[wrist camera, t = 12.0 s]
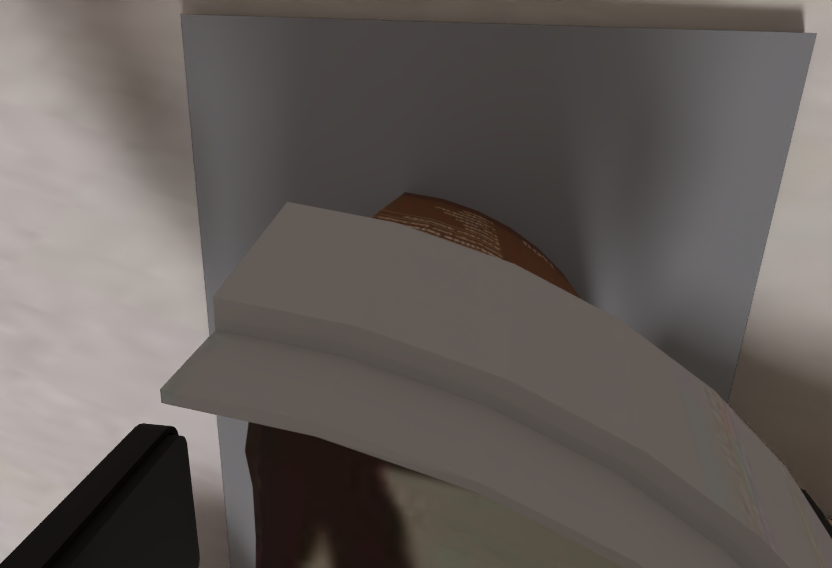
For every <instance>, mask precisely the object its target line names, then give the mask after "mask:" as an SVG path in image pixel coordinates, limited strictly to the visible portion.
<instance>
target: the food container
mask: <svg viewBox="0 0 832 568" xmlns="http://www.w3.org/2000/svg"><path fill="white" fill-rule="evenodd" d="M213 305H214V320H215V331H214V332H213V333H212V334H211V335H210V336H209V337H208V338H207V340H206V341H205V342H204V343H203V344H202V345H201V346H200V347H199V348H198V349H197V350H196V351H195V352H194V354H193V355H192V356H191V357H190V358H189V359H188V360H187V361H186V362H185V363H184V364H183V365H182V366H181V368H180V369H179V370H178V371H177V372H176V373H175V374H174V375H173V376H172V377H171V378H170V379H169V380H168V382H167V383H166V384H165V385H164V386H163V387H162V388H161V389H160V392H161V402H162V403H165V404H169V405H174V406H178V407H183V408H188V409H192V410H197V411H201V412H206V413H211V414H215V415H220V416H224V417H229V418H233V419H238V420H243V421H247V422H249V423H248V430H247V438H246V445H245V454H246V459H247V463H248V468H249V473H250V477H251V482H252V487H253V502H254V518H255V535H256V568H832V539H831V537H830V535H829V534H828V532H827V531H826V529H825V528H824V526H823V524H822V523H821V521H820V520H819V518H818V516H817V515H816V513H815V512H814V510H813V509H812V507H811V505H810V504H809V502H808V501H807V499H806V497H805V496H804V494H803V493H802V491H801V490H800V488H799V486H798V485H797V483H796V482H795V480H794V478H793V477H792V475H791V474H790V472H789V471H788V469H787V467H786V466H785V465H784V464H783V463H782V462H781V461H780V460H779V459H778V458H777V457H776V456H775V455H774V454H773V453H772V451H771V450H770V449H769V448H768V447H767V446H766V445H765V444H764V443H763V442H762V441H761V440H760V439H759V438H758V437H757V435H756V434H755V433H754V432H753V431H752V430H751V429H750V428H749V427H748V426H747V425H746V424H745V423H744V422H743V421H742V419H741V418H740V417H739V416H738V415H737V414H736V413H735V412H734V411H733V410H732V409H731V408H730V407H729V406H728V405H727V403H726V402H725V401H724V400H723V399H722V398H721V397H720V396H719V395H718V394H717V393H716V392H715V391H714V390H713V389H712V388H710V387H709V386H708V385H706V384H705V383H704V382H702V381H701V380H700V379H698V378H697V377H696V376H694V375H693V374H692V373H690V372H689V371H688V370H687V369H685V368H684V367H683V366H681V365H680V364H679V363H677V362H676V361H675V360H673V359H672V358H671V357H669V356H668V355H667V354H665V353H664V352H663V351H661V350H660V349H659V348H657V347H656V346H655V345H653V344H652V343H651V342H649V341H648V340H647V339H645V338H644V337H643V336H641V335H640V334H639V333H637V332H636V331H635V330H633V329H632V328H631V327H630V326H628V325H627V324H626V323H624V322H623V321H621V320H619V319H617V318H616V317H614V316H612V315H610V314H608V313H606V312H604V311H602V310H600V309H599V308H597V307H595V306H593V305H591V304H589V303H587V302H585V301H584V300H582V299H581V298H580V297H579V295H578V294H577V293H576V291H575V290H574V288H573V287H572V285H571V284H570V283H569V281H568V280H567V278H566V277H565V275H564V274H563V273H562V272H561V271H560V270H559V269H558V268H557V267H556V266H555V264H554V263H553V262H552V261H551V260H550V259H549V258H548V257H547V256H546V255H545V254H544V253H543V252H542V251H541V250H540V249H539V248H537V247H536V246H535V245H533V244H532V243H531V242H529V241H528V240H527V239H525V238H524V237H522V236H521V235H520V234H518V233H517V232H516V231H514V230H513V229H512V228H510V227H508V226H506V225H504V224H503V223H501V222H499V221H497V220H495V219H493V218H491V217H489V216H487V215H485V214H483V213H481V212H480V211H477V210H474V209H471V208H469V207H466V206H463V205H460V204H457V203H454V202H451V201H448V200H445V199H441V198H435V197H430V196H424V195H418V194H413V193H407V192H404V193H403V194H401V195H400V196H399V197H397V198H396V199H395V200H393V201H392V202H391V203H389V204H388V205H387V206H385V207H384V208H382V209H381V210H380V211H378V212H377V213H376V214H374V215H373V216H372V217H370V218H369V217H364V216H359V215H354V214H348V213H343V212H338V211H333V210H328V209H322V208H317V207H312V206H307V205H302V204H296V203H291V202H287V203H286V204H285V205H284V207H283V208H282V209H281V210H280V212H279V213H278V214H277V215H276V217H275V218H274V219H273V221H272V222H271V223H270V224H269V226H268V227H267V228H266V230H265V231H264V232H263V233H262V235H261V236H260V237H259V238H258V240H257V241H256V242H255V244H254V245H253V246H252V247H251V249H250V250H249V251H248V252H247V254H246V255H245V256H244V258H243V259H242V260H241V261H240V263H239V264H238V265H237V266H236V268H235V269H234V270H233V272H232V273H231V274H230V275H229V277H228V278H227V279H226V281H225V282H224V283H223V284H222V286H221V287H220V288H219V289H218V291H217V292H216V293H215V295H214V296H213Z"/></svg>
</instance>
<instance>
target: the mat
mask: <svg viewBox="0 0 832 568" xmlns="http://www.w3.org/2000/svg"><path fill="white" fill-rule="evenodd" d="M180 15H181V26H182V37H183V48H184V59H185V70H186V81H187V92H188V103H189V114H190V125H191V136H192V147H193V158H194V169H195V180H196V191H197V202H198V213H199V224H200V235H201V246H202V257H203V268H204V279H205V290H206V301H207V312H208V323H209V334H210V335H211V334H212V333H213V332H214V331H215V320H214V305H213V296H214V295H215V293H216V292H217V291H218V289H219V288H220V287H221V286H222V284H223V283H224V282H225V281H226V279H227V278H228V277H229V275H230V274H231V273H232V272H233V270H234V269H235V268H236V266H237V265H238V264H239V263H240V261H241V260H242V259H243V258H244V256H245V255H246V254H247V252H248V251H249V250H250V249H251V247H252V246H253V245H254V244H255V242H256V241H257V240H258V238H259V237H260V236H261V235H262V233H263V232H264V231H265V230H266V228H267V227H268V226H269V224H270V223H271V222H272V221H273V219H274V218H275V217H276V215H277V214H278V213H279V212H280V210H281V209H282V208H283V207H284V205H285V204H286V203H287V202H291V203H296V204H302V205H307V206H312V207H317V208H322V209H328V210H333V211H338V212H343V213H348V214H354V215H359V216H364V217H369V218H370V217H372V216H373V215H374V214H376V213H377V212H378V211H380V210H381V209H382V208H384V207H385V206H387V205H388V204H389V203H391V202H392V201H393V200H395V199H396V198H397V197H399V196H400V195H401V194H403V193H404V192H407V193H413V194H418V195H424V196H430V197H435V198H441V199H445V200H448V201H451V202H454V203H457V204H460V205H463V206H466V207H469V208H471V209H474V210H477V211H480V212H481V213H483V214H485V215H487V216H489V217H491V218H493V219H495V220H497V221H499V222H501V223H503V224H504V225H506V226H508V227H510V228H512V229H513V230H514V231H516V232H517V233H518V234H520V235H521V236H522V237H524V238H525V239H527V240H528V241H529V242H531V243H532V244H533V245H535V246H536V247H537V248H539V249H540V250H541V251H542V252H543V253H544V254H545V255H546V256H547V257H548V258H549V259H550V260H551V261H552V262H553V263H554V264H555V266H556V267H557V268H558V269H559V270H560V271H561V272H562V273H563V274H564V275H565V277H566V278H567V280H568V281H569V283H570V284H571V285H572V287H573V288H574V290H575V291H576V293H577V294H578V295H579V297H580V298H581V299H582V300H584V301H585V302H587V303H589V304H591V305H593V306H595V307H597V308H599V309H600V310H602V311H604V312H606V313H608V314H610V315H612V316H614V317H616V318H617V319H619V320H621V321H623V322H624V323H626V324H627V325H628V326H630V327H631V328H632V329H633V330H635V331H636V332H637V333H639V334H640V335H641V336H643V337H644V338H645V339H647V340H648V341H649V342H651V343H652V344H653V345H655V346H656V347H657V348H659V349H660V350H661V351H663V352H664V353H665V354H667V355H668V356H669V357H671V358H672V359H673V360H675V361H676V362H677V363H679V364H680V365H681V366H683V367H684V368H685V369H687V370H688V371H689V372H690V373H692V374H693V375H694V376H696V377H697V378H698V379H700V380H701V381H702V382H704V383H705V384H706V385H708V386H709V387H710V388H712V389H713V390H714V391H715V392H716V393H717V394H718V395H719V396H720V397H721V398H722V399H723V400H724V401H725V402H726V403H728V399H729V394H730V390H731V386H732V382H733V378H734V374H735V370H736V366H737V361H738V357H739V353H740V349H741V345H742V341H743V337H744V332H745V328H746V324H747V320H748V316H749V312H750V308H751V304H752V299H753V295H754V291H755V287H756V283H757V279H758V275H759V270H760V266H761V262H762V258H763V254H764V250H765V246H766V241H767V237H768V233H769V229H770V225H771V221H772V217H773V213H774V208H775V204H776V200H777V196H778V192H779V188H780V184H781V179H782V175H783V171H784V167H785V163H786V159H787V155H788V151H789V146H790V142H791V138H792V134H793V130H794V126H795V122H796V117H797V113H798V109H799V105H800V101H801V97H802V93H803V88H804V84H805V80H806V76H807V72H808V68H809V64H810V60H811V55H812V51H813V47H814V43H815V39H816V35H817V33H794V32H761V31H727V30H694V29H660V28H627V27H593V26H560V25H526V24H492V23H459V22H425V21H392V20H358V19H325V18H291V17H258V16H224V15H190V14H180ZM217 422H218V433H219V444H220V455H221V466H222V477H223V488H224V499H225V510H226V521H227V532H228V543H229V554H230V565H231V568H256V535H255V518H254V502H253V487H252V482H251V477H250V473H249V468H248V463H247V459H246V454H245V445H246V438H247V430H248V423H249V422H247V421H243V420H238V419H233V418H229V417H224V416H220V415H217Z"/></svg>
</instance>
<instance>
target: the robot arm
mask: <svg viewBox="0 0 832 568" xmlns="http://www.w3.org/2000/svg"><path fill="white" fill-rule="evenodd" d="M800 490H801V491H802V493H803V494H804V496H805V497H806V499H807V501H808V502H809V504H810V505H811V507H812V509H813V510H814V512H815V513H816V515H817V516H818V518H819V520H820V521H821V523H822V524H823V526H824V528H825V529H826V531H827V532H828V534H829V535H830V537H831V539H832V525H831V524H830V523H829V521H828V520H827V519H826V517H825V516H824V515H823V513H822V512H821V511H820V509H819V508H818V506H817V505H816V504H815V502H814V501H813V500H812V498H811V497H810V496H809V494H808V493H807V492H806V491H805V490H802V489H800ZM199 560H200V556H199V546H198V537H197V528H196V520H195V511H194V502H193V493H192V484H191V475H190V466H189V457H188V448H187V442H186V439H185V437H183V436H179V435H178V431H177V430H176V428H175V427H173V426H164V425H154V424H144V423H143V424H139V425H138V426H136V427H135V428H134V429H133V430H132V431H131V432H130V433H129V434H128V435H127V436H126V437H125V438H124V439H123V440H122V441H121V442H120V443H119V444H118V445H117V446H116V447H115V448H114V449H113V450H112V451H111V452H110V453H109V454H108V455H107V456H106V457H105V458H104V459H103V460H102V461H101V462H100V463H99V464H98V465H97V466H96V467H95V468H94V469H93V470H92V471H91V473H90V474H89V475H88V476H87V477H86V478H85V479H84V480H83V481H82V482H81V483H80V484H79V485H78V486H77V487H76V488H75V489H74V490H73V491H72V492H71V493H70V494H69V495H68V496H67V497H66V498H65V499H64V500H63V501H62V502H61V503H60V504H59V505H58V506H57V507H56V508H55V509H54V510H53V511H52V512H51V513H50V514H49V515H48V516H47V517H46V518H45V519H44V520H43V521H42V522H41V523H40V524H39V525H38V526H37V527H36V528H35V529H34V530H33V531H32V532H31V533H30V534H29V535H28V536H27V537H26V538H25V539H24V540H23V542H22V543H21V544H20V545H19V546H18V547H17V548H16V549H15V550H14V551H13V552H12V553H11V554H10V555H9V556H8V557H7V558H6V559H5V560H4V561H3V562H2V563H1V564H0V568H198V567H199Z"/></svg>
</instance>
